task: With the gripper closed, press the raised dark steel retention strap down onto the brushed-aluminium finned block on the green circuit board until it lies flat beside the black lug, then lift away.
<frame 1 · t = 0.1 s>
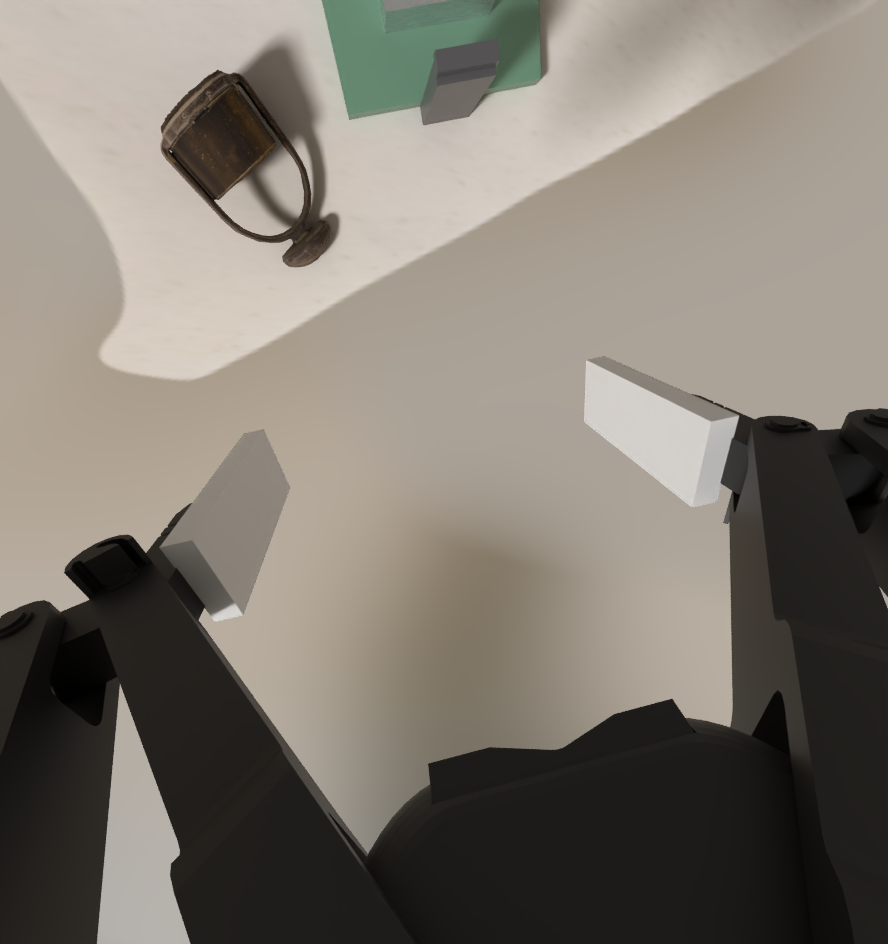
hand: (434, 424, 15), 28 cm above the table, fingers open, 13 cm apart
lug: (444, 111, 32), on the table
mechanical counter: (259, 190, 33), on the table
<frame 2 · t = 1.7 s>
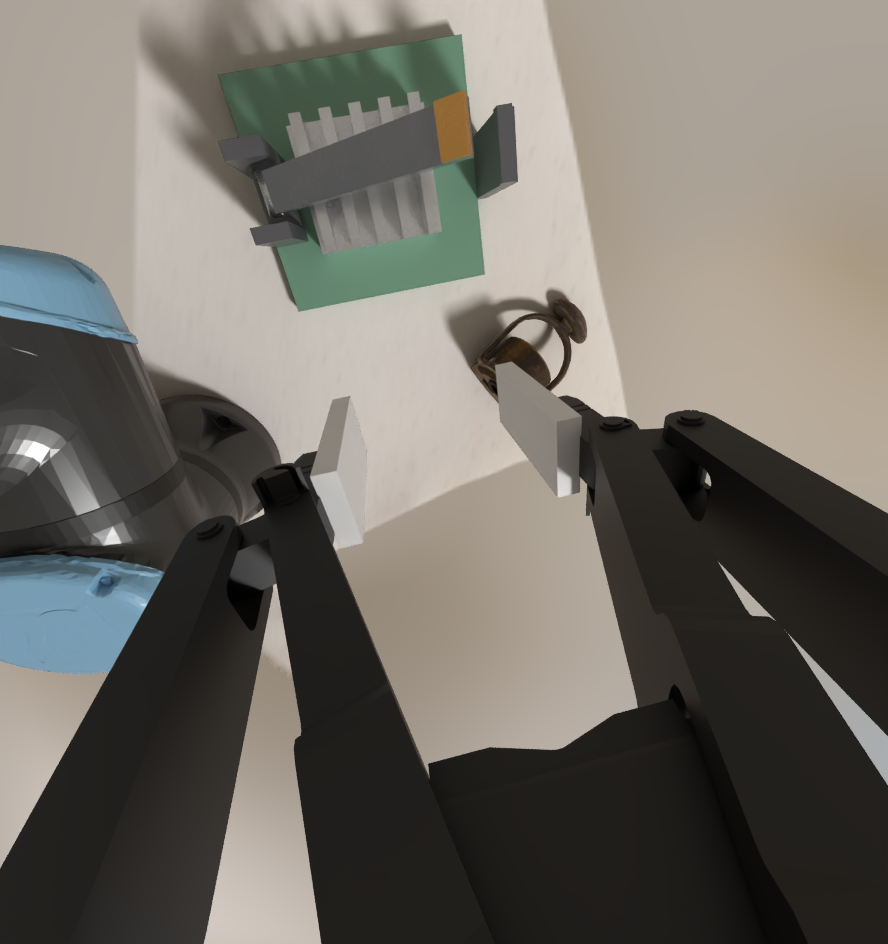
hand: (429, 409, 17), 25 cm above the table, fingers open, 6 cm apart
lug: (478, 171, 33), on the table
board: (370, 191, 33), on the table
mechanical counter: (525, 354, 42), on the table
grey u-bracket: (284, 207, 32), resting on board
strap: (350, 166, 23), point 12 cm above the table, hinge at 35.0°
heatsink: (370, 191, 33), resting on board
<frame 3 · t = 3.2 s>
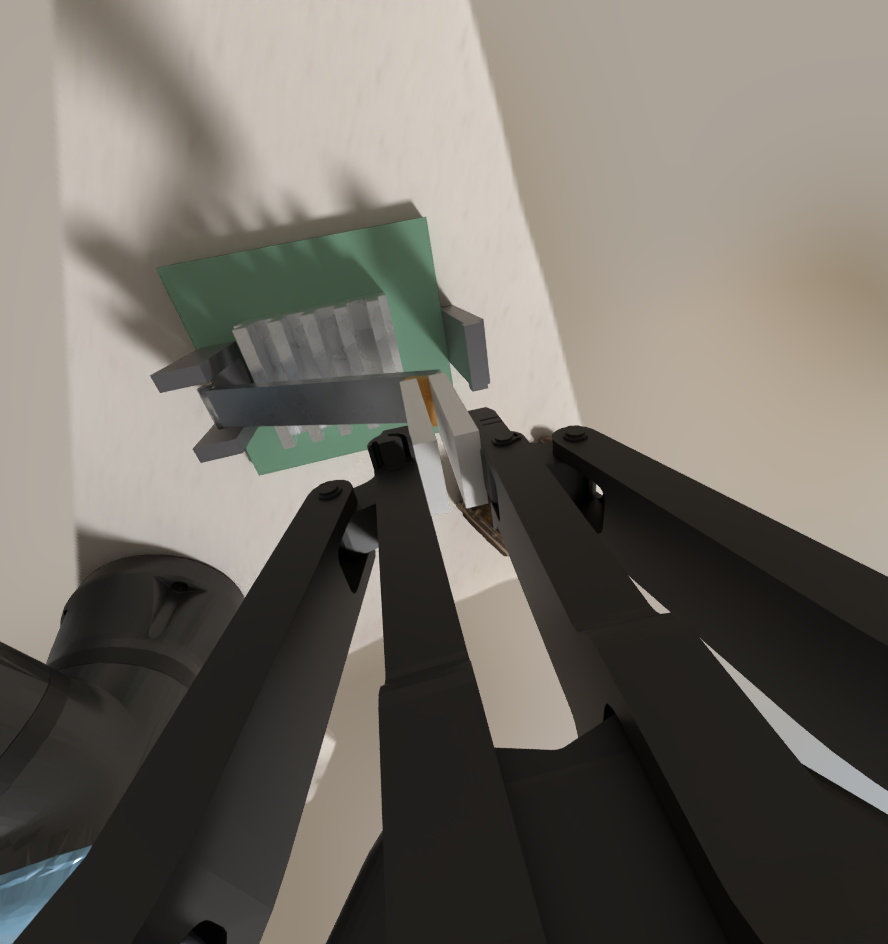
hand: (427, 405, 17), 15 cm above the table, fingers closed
lug: (449, 332, 31), on the table
board: (333, 357, 30), on the table
mechanical counter: (512, 485, 40), on the table
grey u-bracket: (239, 378, 29), resting on board
strap: (310, 403, 21), point 11 cm above the table, hinge at 29.1°, touching gripper
heatsink: (333, 357, 30), resting on board
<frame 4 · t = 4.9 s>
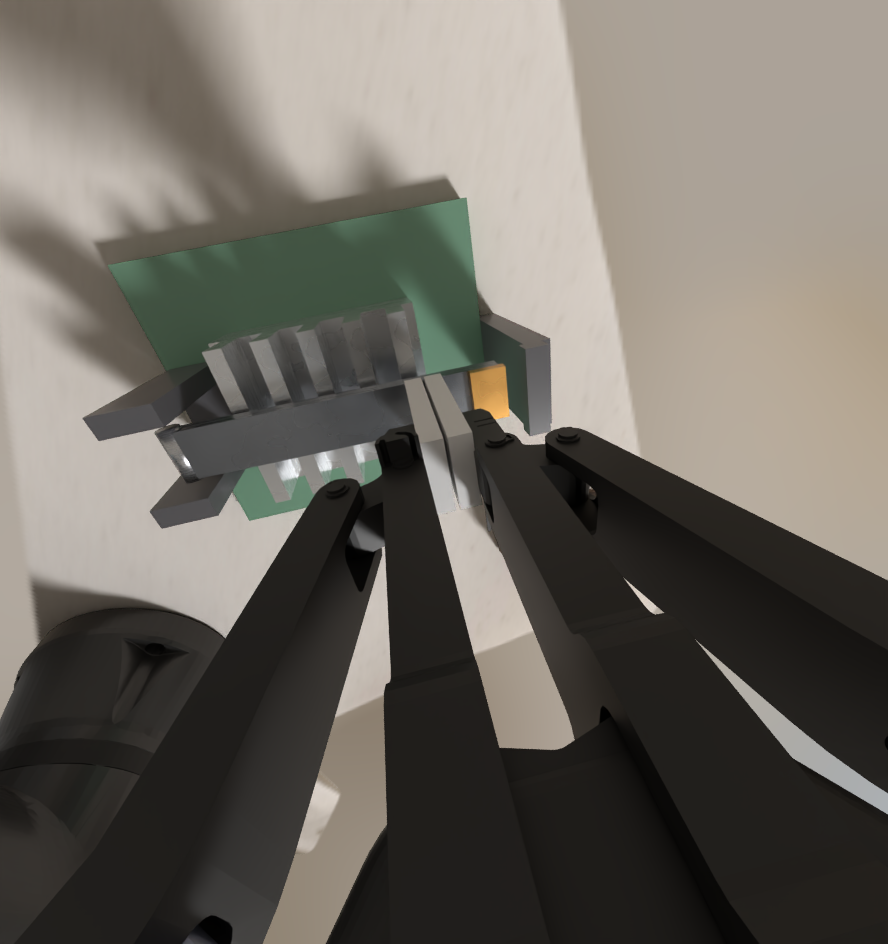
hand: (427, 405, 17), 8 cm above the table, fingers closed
lug: (487, 347, 25), on the table
board: (342, 378, 24), on the table
grey u-bracket: (223, 404, 23), resting on board
strap: (339, 422, 17), point 8 cm above the table, hinge at 1.7°, touching gripper
heatsink: (342, 378, 24), resting on board
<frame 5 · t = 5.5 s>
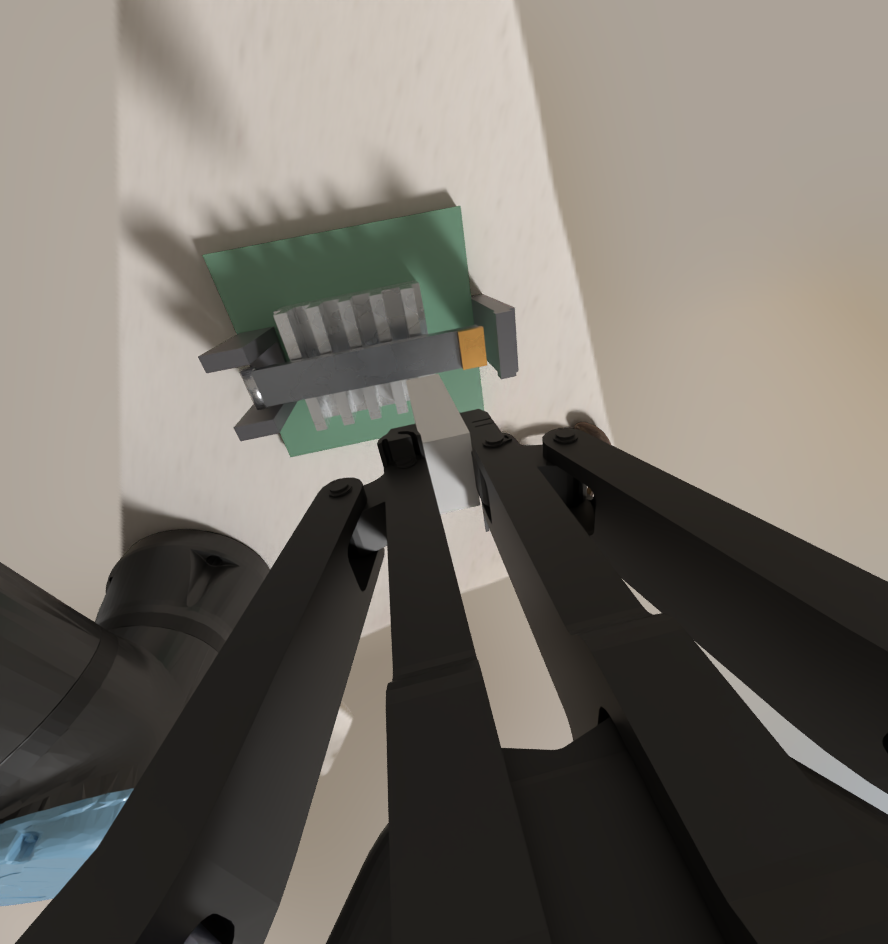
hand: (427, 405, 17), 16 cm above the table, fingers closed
lug: (478, 321, 31), on the table
board: (365, 344, 31), on the table
mechanical counter: (547, 471, 40), on the table
grey u-bracket: (275, 362, 31), resting on board
strap: (365, 367, 25), point 8 cm above the table, hinge at 1.6°
heatsink: (365, 344, 31), resting on board
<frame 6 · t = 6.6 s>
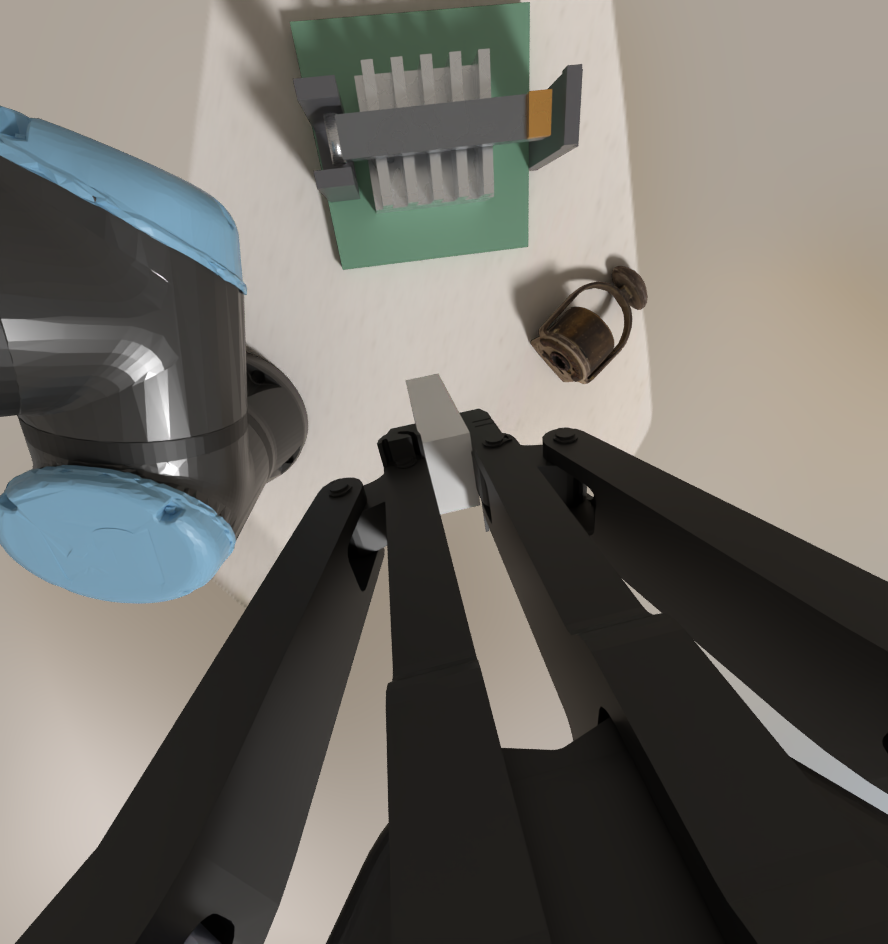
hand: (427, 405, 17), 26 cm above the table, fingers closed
lug: (530, 142, 34), on the table
board: (424, 153, 33), on the table
mechanical counter: (583, 325, 43), on the table
grey u-bracket: (339, 163, 33), resting on board
strap: (439, 127, 26), point 8 cm above the table, hinge at 1.6°
heatsink: (424, 153, 33), resting on board
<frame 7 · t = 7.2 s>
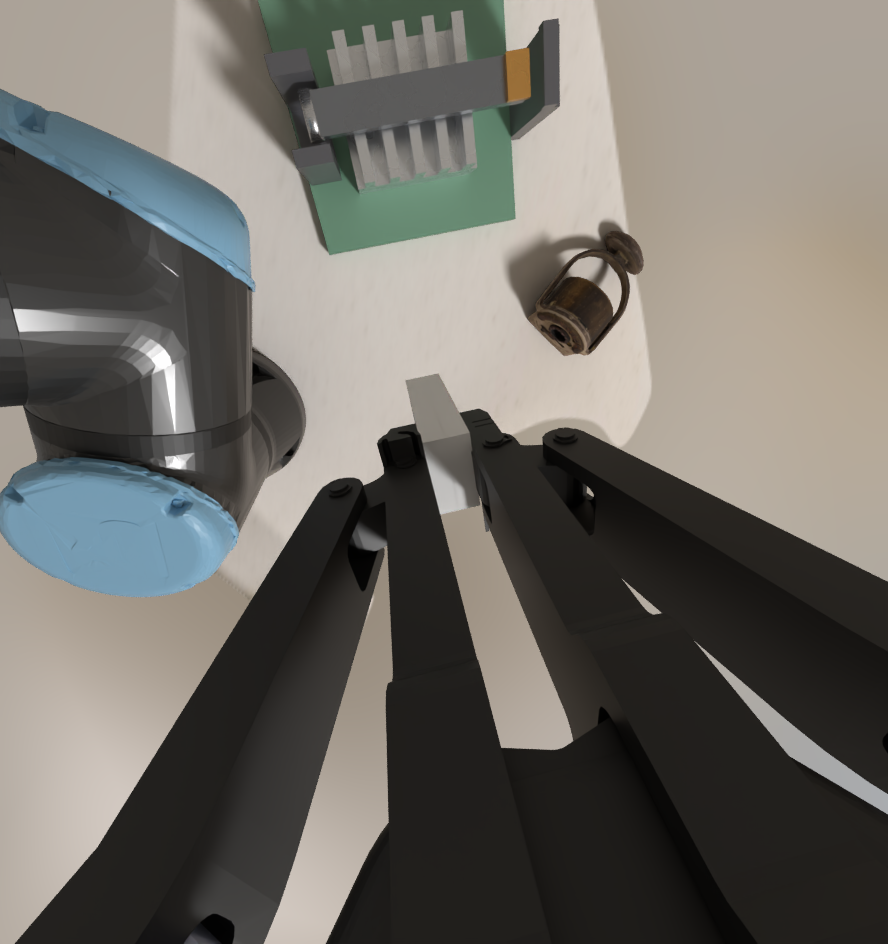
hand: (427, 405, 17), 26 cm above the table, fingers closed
lug: (511, 110, 33), on the table
board: (404, 129, 32), on the table
mechanical counter: (579, 296, 42), on the table
grey u-bracket: (318, 144, 32), resting on board
strap: (416, 96, 26), point 8 cm above the table, hinge at 1.6°
heatsink: (404, 129, 32), resting on board
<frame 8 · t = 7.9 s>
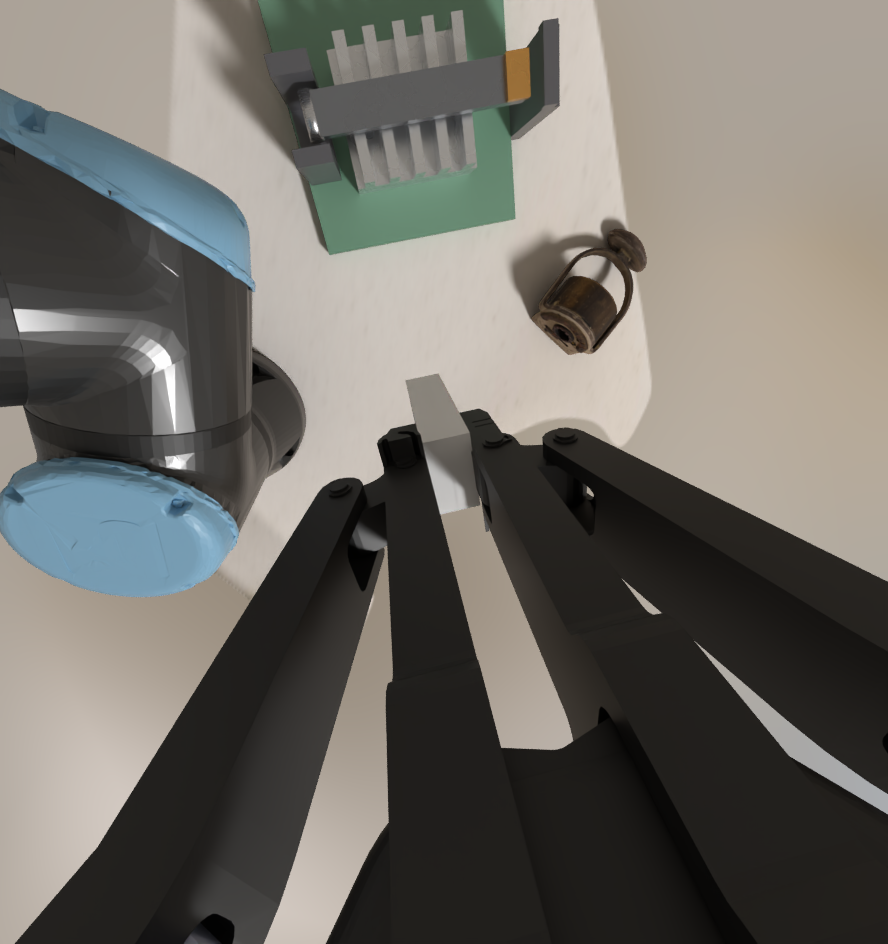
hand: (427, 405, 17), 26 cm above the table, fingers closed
lug: (511, 110, 33), on the table
board: (404, 129, 32), on the table
mechanical counter: (583, 295, 42), on the table
grey u-bracket: (318, 144, 32), resting on board
strap: (416, 96, 26), point 8 cm above the table, hinge at 1.6°
heatsink: (404, 129, 32), resting on board
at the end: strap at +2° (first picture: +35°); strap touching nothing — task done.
